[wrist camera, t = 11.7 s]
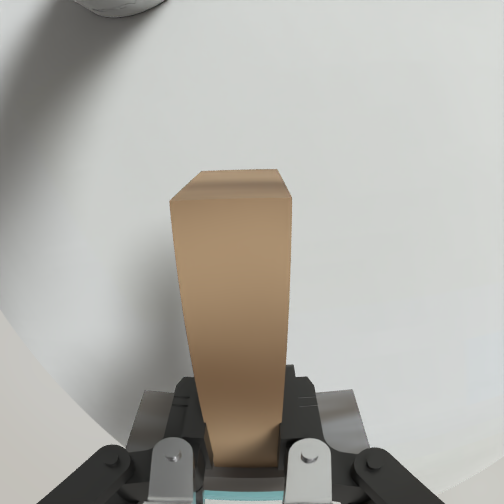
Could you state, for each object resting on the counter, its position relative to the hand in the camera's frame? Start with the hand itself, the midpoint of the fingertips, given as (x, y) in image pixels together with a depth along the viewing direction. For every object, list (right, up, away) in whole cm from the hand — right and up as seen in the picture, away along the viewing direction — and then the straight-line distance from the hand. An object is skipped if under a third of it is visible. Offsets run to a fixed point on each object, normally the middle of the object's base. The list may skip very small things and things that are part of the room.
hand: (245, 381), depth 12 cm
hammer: (0, +3, 0) cm, 3 cm away
